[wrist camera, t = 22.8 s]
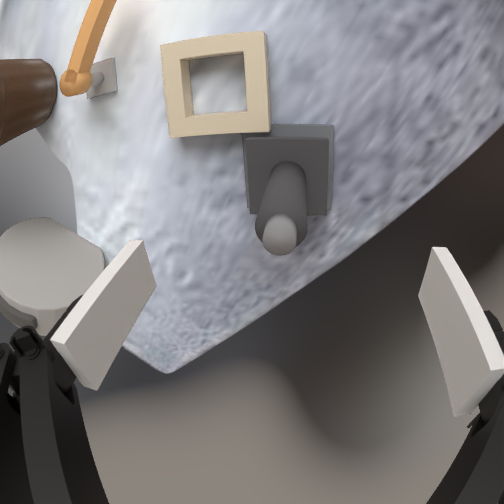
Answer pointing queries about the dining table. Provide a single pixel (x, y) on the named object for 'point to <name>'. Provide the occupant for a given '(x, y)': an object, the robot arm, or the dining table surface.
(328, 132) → the mat
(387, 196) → the dining table surface
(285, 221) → the plug
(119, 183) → the dining table surface
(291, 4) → the dining table surface
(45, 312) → the alarm clock
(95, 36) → the orange lever handle
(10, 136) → the plant pot
